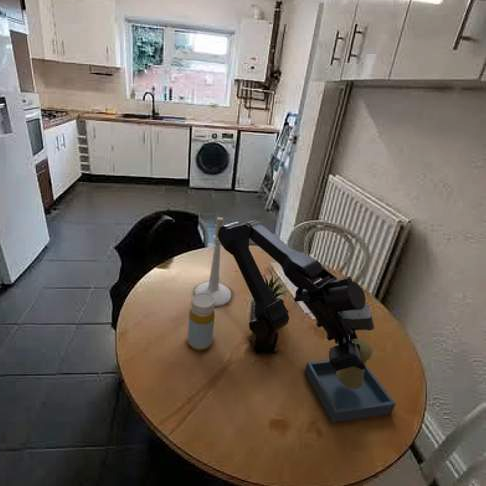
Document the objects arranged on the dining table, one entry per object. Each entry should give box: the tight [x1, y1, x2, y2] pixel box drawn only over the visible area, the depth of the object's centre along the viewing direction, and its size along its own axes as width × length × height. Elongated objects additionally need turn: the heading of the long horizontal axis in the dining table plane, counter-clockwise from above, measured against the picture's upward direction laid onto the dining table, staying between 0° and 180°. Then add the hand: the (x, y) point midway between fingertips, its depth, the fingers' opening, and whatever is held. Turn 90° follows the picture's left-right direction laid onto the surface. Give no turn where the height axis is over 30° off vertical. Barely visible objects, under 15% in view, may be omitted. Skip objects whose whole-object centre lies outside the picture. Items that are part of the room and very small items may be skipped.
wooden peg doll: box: [337, 338, 373, 389], centre depth 74 cm, size 6×6×11 cm
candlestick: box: [194, 216, 232, 307], centre depth 104 cm, size 13×13×30 cm
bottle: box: [187, 293, 216, 351], centre depth 86 cm, size 7×7×15 cm
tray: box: [304, 359, 396, 424], centre depth 77 cm, size 16×14×4 cm
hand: (362, 360), depth 74 cm, fingers closed on wooden peg doll, 5 cm apart
